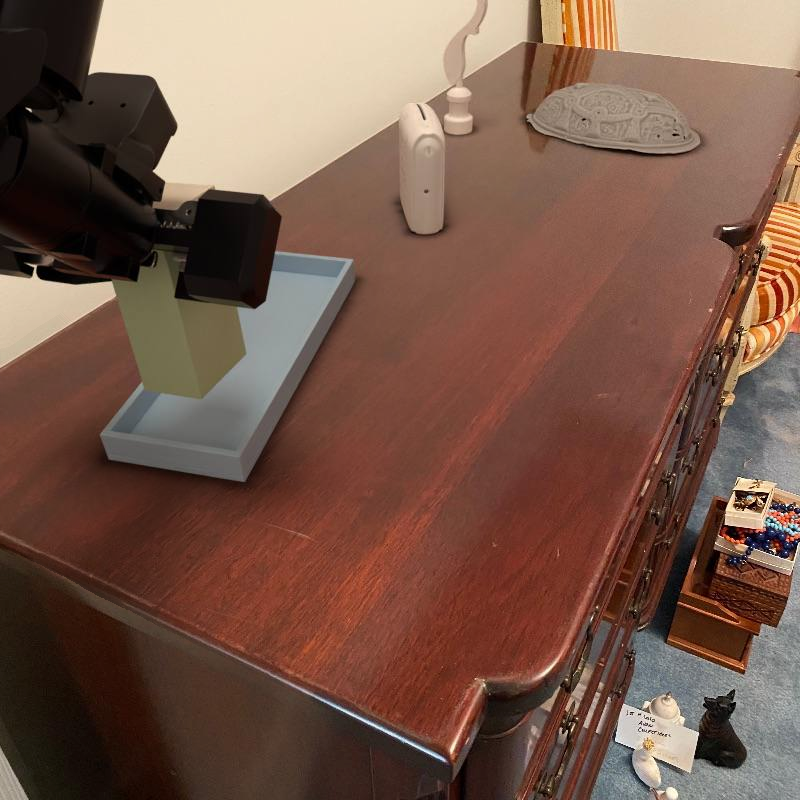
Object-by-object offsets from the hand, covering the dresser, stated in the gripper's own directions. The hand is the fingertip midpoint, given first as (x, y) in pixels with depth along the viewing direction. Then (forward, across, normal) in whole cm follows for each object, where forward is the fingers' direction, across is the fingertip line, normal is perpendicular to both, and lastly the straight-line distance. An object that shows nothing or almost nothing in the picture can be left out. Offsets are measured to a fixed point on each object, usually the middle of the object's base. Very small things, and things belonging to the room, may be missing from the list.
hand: (187, 274), depth 53 cm
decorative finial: (+57, -6, -38) cm, 69 cm away
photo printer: (+37, -7, -18) cm, 42 cm away
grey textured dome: (+60, -27, -41) cm, 78 cm away
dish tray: (+15, +1, +4) cm, 16 cm away
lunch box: (+4, 0, +6) cm, 7 cm away
